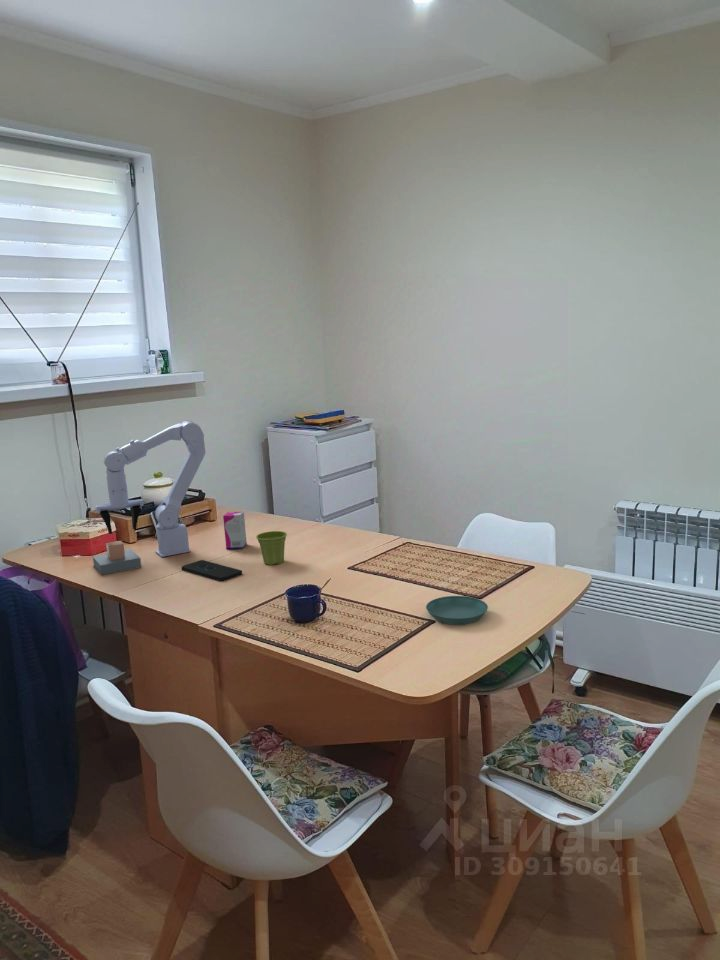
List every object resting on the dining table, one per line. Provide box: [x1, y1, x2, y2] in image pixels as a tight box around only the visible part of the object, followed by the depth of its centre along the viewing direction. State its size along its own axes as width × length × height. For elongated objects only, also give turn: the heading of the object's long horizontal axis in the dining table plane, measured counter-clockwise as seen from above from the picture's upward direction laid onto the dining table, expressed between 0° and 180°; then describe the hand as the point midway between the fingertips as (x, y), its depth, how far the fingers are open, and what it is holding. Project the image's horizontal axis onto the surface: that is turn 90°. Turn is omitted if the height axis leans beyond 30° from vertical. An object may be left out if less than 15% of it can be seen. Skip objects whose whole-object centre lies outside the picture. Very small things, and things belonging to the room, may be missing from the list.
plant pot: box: [255, 530, 288, 566], centre depth 231 cm, size 9×9×9 cm
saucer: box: [425, 595, 489, 626], centre depth 182 cm, size 15×15×3 cm
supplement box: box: [222, 511, 248, 550], centre depth 250 cm, size 6×6×12 cm
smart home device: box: [181, 559, 243, 582], centre depth 226 cm, size 8×2×20 cm
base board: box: [92, 548, 142, 576], centre depth 236 cm, size 12×12×3 cm
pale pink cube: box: [105, 540, 125, 560], centre depth 235 cm, size 4×4×4 cm
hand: (122, 531), depth 242 cm, fingers open, 7 cm apart
